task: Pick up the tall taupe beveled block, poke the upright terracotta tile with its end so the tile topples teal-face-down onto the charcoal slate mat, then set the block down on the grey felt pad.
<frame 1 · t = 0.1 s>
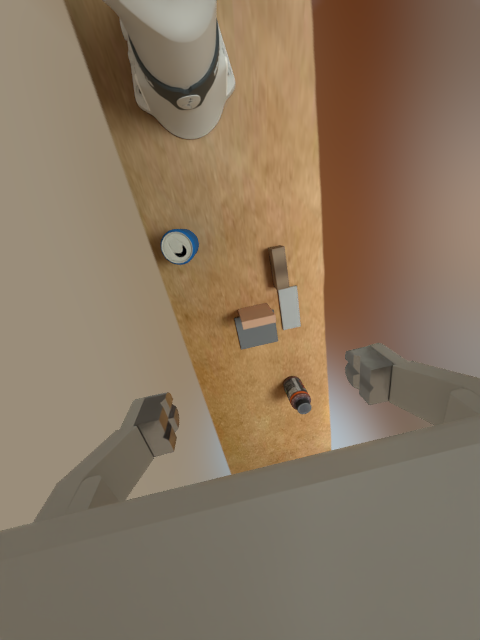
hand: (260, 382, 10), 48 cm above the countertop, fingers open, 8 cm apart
tile: (253, 309, 60), on the countertop
pad: (289, 308, 61), on the countertop
beverage can: (185, 243, 52), on the countertop
mat: (256, 329, 63), on the countertop
supplement bottle: (291, 382, 72), on the countertop
tall taupe beveled block: (276, 266, 57), on the countertop
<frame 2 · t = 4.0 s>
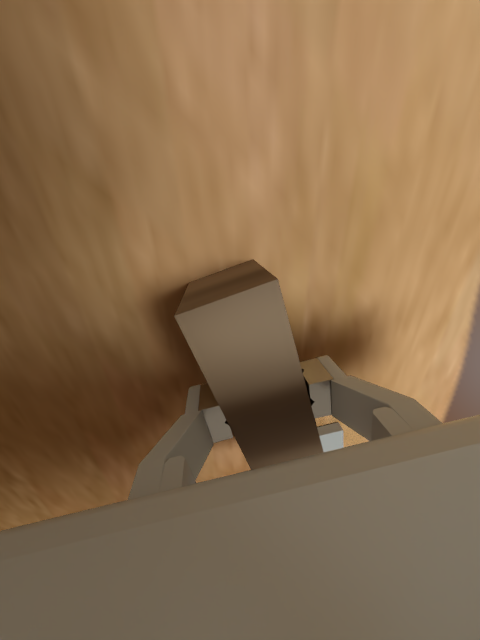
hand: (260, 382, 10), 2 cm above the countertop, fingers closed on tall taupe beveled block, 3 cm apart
pad: (307, 487, 16), on the countertop
tall taupe beveled block: (254, 360, 12), on the countertop, touching gripper
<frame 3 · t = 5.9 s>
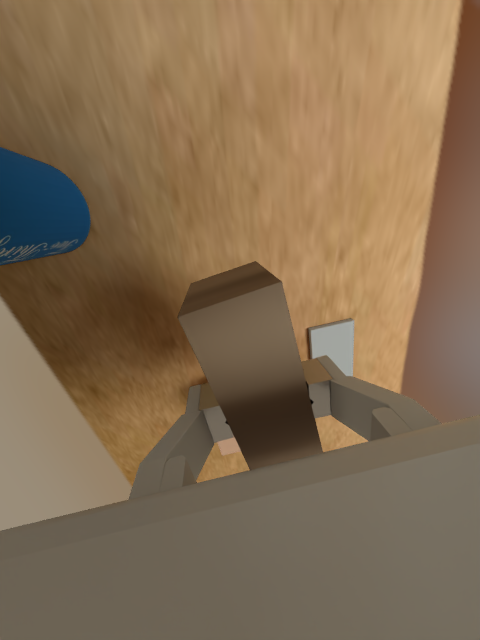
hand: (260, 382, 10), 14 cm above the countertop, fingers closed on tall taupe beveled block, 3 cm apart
pad: (330, 365, 27), on the countertop
beverage can: (53, 211, 18), on the countertop
tall taupe beveled block: (254, 362, 12), point 12 cm above the countertop, touching gripper
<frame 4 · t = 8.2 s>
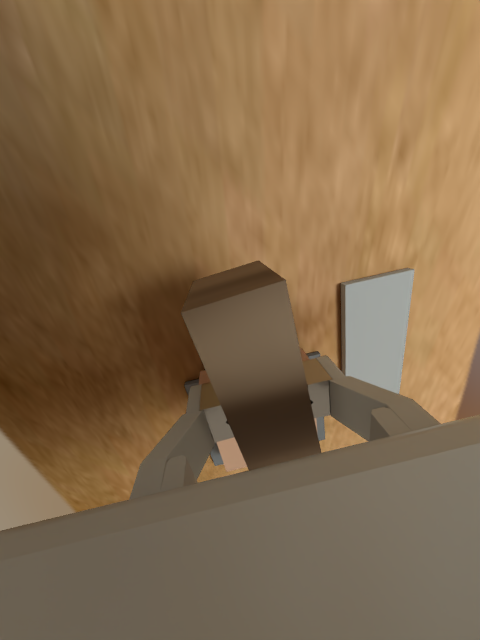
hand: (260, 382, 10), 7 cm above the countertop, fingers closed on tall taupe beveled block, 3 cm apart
tile: (253, 367, 16), point 2 cm above the countertop, tilted 90°, touching mat
pad: (370, 346, 18), on the countertop
mat: (261, 411, 20), on the countertop
tall taupe beveled block: (254, 361, 12), point 5 cm above the countertop, touching gripper
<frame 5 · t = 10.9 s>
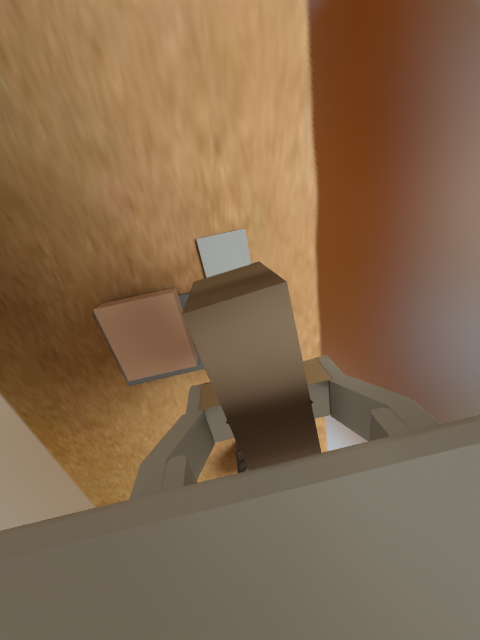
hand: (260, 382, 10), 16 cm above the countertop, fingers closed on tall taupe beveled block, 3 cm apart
tile: (136, 298, 23), point 2 cm above the countertop, tilted 90°, touching mat
pad: (232, 289, 25), on the countertop
mat: (159, 341, 27), on the countertop
tall taupe beveled block: (254, 362, 12), point 15 cm above the countertop, touching gripper
when the fingers open (3 cm above the countertop, at t = 13.0 s): tall taupe beveled block stays where it is, resting on pad.
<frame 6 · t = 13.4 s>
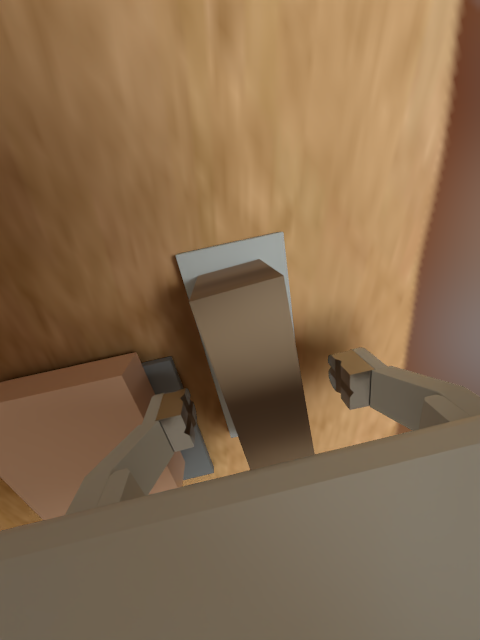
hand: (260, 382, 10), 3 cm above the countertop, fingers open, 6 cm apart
tile: (47, 381, 11), point 2 cm above the countertop, tilted 90°, touching mat
pad: (250, 348, 13), on the countertop
mat: (112, 438, 14), on the countertop
tall taupe beveled block: (252, 354, 12), point 1 cm above the countertop, touching pad
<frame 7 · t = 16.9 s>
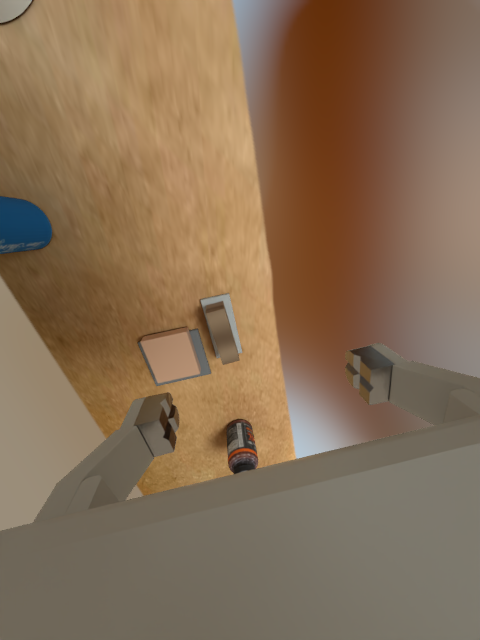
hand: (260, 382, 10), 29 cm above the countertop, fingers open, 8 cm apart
tile: (164, 334, 38), point 2 cm above the countertop, tilted 90°, touching mat
pad: (222, 326, 41), on the countertop
beverage can: (31, 225, 32), on the countertop
mat: (176, 357, 42), on the countertop
supplement bottle: (239, 427, 51), on the countertop
tall taupe beveled block: (222, 328, 40), point 1 cm above the countertop, touching pad
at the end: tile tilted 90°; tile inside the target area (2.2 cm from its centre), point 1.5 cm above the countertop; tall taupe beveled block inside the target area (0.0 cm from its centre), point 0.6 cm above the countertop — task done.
